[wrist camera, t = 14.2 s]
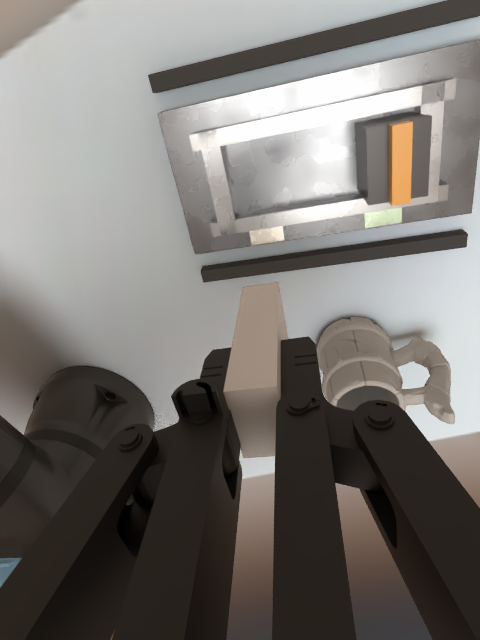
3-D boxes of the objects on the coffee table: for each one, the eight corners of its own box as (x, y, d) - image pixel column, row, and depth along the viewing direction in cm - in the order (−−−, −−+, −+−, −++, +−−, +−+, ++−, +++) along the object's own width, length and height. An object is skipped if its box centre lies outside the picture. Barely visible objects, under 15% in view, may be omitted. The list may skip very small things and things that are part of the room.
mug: (309, 321, 40) (316, 400, 30) (429, 299, 38) (480, 378, 28) (321, 376, 44) (331, 463, 34) (431, 360, 41) (477, 450, 31)
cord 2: (157, 92, 31) (152, 92, 30) (152, 75, 30) (148, 75, 29) (483, 14, 26) (491, 12, 25) (485, -8, 26) (493, -12, 25)
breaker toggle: (357, 189, 32) (370, 209, 27) (355, 122, 29) (368, 130, 24) (408, 180, 31) (432, 199, 26) (410, 111, 28) (437, 117, 23)
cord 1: (205, 277, 39) (203, 282, 38) (202, 266, 38) (200, 271, 37) (461, 242, 34) (466, 247, 33) (462, 229, 34) (467, 234, 33)
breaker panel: (198, 248, 38) (191, 260, 35) (162, 112, 32) (150, 114, 29) (464, 208, 33) (479, 218, 30) (481, 39, 27) (502, 34, 24)
